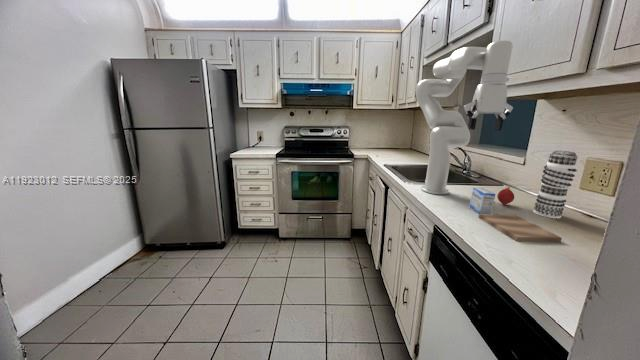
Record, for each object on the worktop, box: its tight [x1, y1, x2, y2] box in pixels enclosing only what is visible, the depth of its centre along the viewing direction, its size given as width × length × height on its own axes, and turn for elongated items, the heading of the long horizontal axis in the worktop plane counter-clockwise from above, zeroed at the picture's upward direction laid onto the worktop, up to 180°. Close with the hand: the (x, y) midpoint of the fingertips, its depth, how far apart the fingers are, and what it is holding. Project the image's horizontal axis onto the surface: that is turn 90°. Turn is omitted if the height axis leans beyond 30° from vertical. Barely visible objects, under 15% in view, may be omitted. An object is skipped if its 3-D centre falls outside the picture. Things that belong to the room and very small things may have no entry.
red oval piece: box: [497, 186, 515, 206], centre depth 108 cm, size 6×6×8 cm
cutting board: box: [478, 213, 563, 243], centre depth 85 cm, size 18×14×2 cm
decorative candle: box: [532, 150, 579, 219], centre depth 96 cm, size 9×9×25 cm
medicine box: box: [468, 187, 496, 215], centre depth 100 cm, size 8×4×9 cm, turn 178°
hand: (484, 129), depth 93 cm, fingers open, 9 cm apart
